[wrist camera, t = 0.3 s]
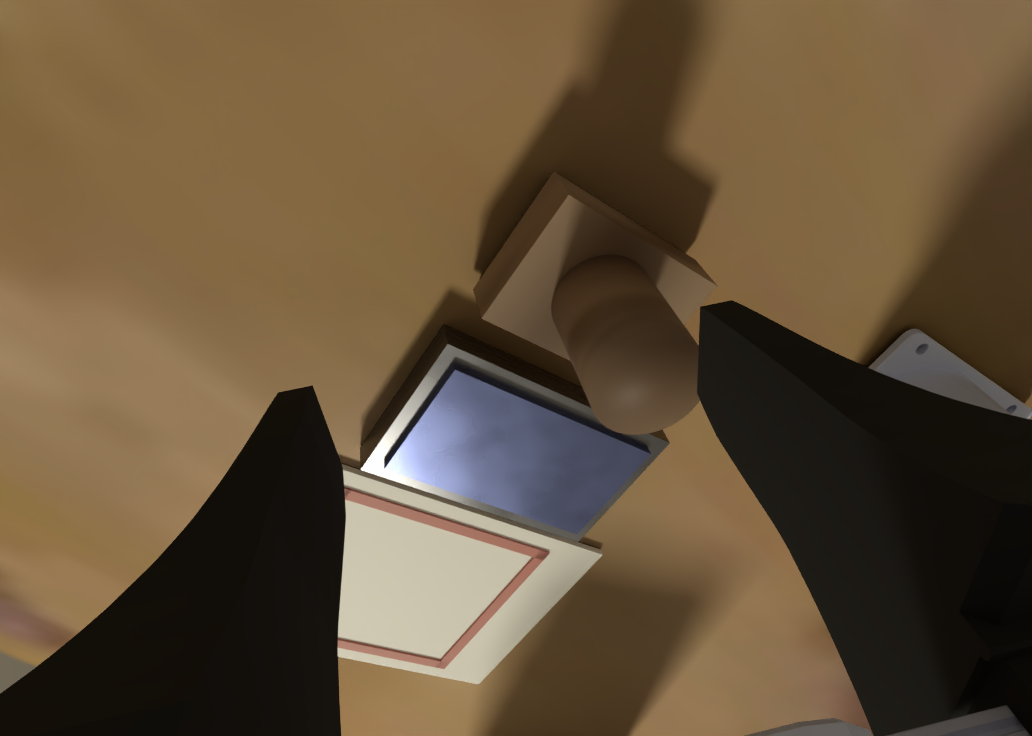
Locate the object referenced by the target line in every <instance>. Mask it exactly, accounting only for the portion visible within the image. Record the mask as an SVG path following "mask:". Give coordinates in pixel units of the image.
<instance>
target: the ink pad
mask: <svg viewBox="0 0 1032 736" xmlns="http://www.w3.org/2000/svg"><path fill="white" fill-rule="evenodd" d="M668 444H669V441H668V439H667V437H666V435H665V433H664V432H663V430H659V431H656V432H652V433H648V434H641V435H629V434H622V433H618V432H615V431H612V430H611V429H609V428H607V427H605V426H604V425H603V424H602V423H601V422H600V421H599V420H598V419H597V418H596V416H595V415H594V412H593V410H592V408H591V406H590V403H589V401H588V399H587V397H586V394H585V392H584V390H583V388H581V387H579V386H577V385H575V384H573V383H570V382H568V381H566V380H564V379H562V378H559V377H557V376H555V375H553V374H551V373H549V372H546V371H544V370H542V369H540V368H538V367H536V366H533V365H531V364H529V363H527V362H525V361H522V360H520V359H518V358H516V357H514V356H512V355H509V354H507V353H505V352H503V351H501V350H499V349H496V348H494V347H492V346H490V345H488V344H486V343H483V342H481V341H479V340H477V339H475V338H472V337H470V336H468V335H466V334H464V333H462V332H459V331H457V330H455V329H453V328H451V327H449V326H446V325H443V326H442V328H441V329H440V331H439V332H438V334H437V335H436V336H435V338H434V339H433V341H432V342H431V344H430V345H429V347H428V348H427V350H426V351H425V353H424V354H423V356H422V357H421V359H420V360H419V362H418V363H417V364H416V366H415V367H414V369H413V370H412V372H411V373H410V375H409V376H408V378H407V379H406V381H405V382H404V384H403V385H402V387H401V388H400V390H399V391H398V392H397V394H396V395H395V397H394V398H393V400H392V401H391V403H390V404H389V406H388V407H387V409H386V410H385V412H384V413H383V415H382V416H381V417H380V419H379V420H378V422H377V423H376V425H375V426H374V428H373V429H372V431H371V432H370V434H369V435H368V437H367V438H366V440H365V441H364V443H363V444H362V445H361V447H360V466H361V470H362V471H365V472H368V473H371V474H374V475H377V476H381V477H384V478H387V479H390V480H393V481H396V482H399V483H402V484H405V485H408V486H411V487H414V488H417V489H420V490H423V491H426V492H429V493H432V494H435V495H438V496H441V497H444V498H447V499H450V500H453V501H456V502H459V503H462V504H465V505H468V506H471V507H474V508H477V509H480V510H483V511H486V512H489V513H492V514H495V515H498V516H501V517H504V518H507V519H510V520H513V521H516V522H519V523H522V524H525V525H528V526H531V527H534V528H538V529H541V530H544V531H547V532H550V533H553V534H556V535H559V536H562V537H565V538H568V539H571V540H574V541H577V542H579V540H580V539H581V538H582V537H583V536H584V535H585V534H586V533H587V532H588V531H589V530H590V529H591V528H592V526H593V525H594V524H595V523H596V522H597V521H598V520H599V519H600V518H601V517H602V516H603V515H604V513H605V512H606V511H607V510H608V509H609V508H610V507H611V506H612V505H613V504H614V503H615V502H616V501H617V499H618V498H619V497H620V496H621V495H622V494H623V493H624V492H625V491H626V490H627V489H628V488H629V487H630V485H631V484H632V483H633V482H634V481H635V480H636V479H637V478H638V477H639V476H640V475H641V474H642V473H643V471H644V470H645V469H646V468H647V467H648V466H649V465H650V464H651V463H652V462H653V461H654V460H655V458H656V457H657V456H658V455H659V454H660V453H661V452H662V451H663V450H664V449H665V448H666V447H667V446H668Z"/></svg>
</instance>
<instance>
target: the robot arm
mask: <svg viewBox="0 0 1032 736" xmlns="http://www.w3.org/2000/svg"><path fill="white" fill-rule="evenodd" d="M918 346H919V347H918ZM697 394H698V396H699V399H700V401H701V403H702V405H703V408H704V410H705V412H706V414H707V417H708V419H709V421H710V423H711V425H712V427H713V429H714V431H715V433H716V435H717V437H718V439H719V440H720V442H721V444H722V445H723V447H724V448H725V450H726V451H727V453H728V455H729V456H730V458H731V459H732V461H733V462H734V464H735V465H736V467H737V469H738V470H739V472H740V473H741V475H742V476H743V478H744V479H745V481H746V482H747V484H748V485H749V487H750V488H751V490H752V491H753V493H754V494H755V496H756V498H757V499H758V501H759V502H760V504H761V505H762V507H763V508H764V510H765V511H766V513H767V514H768V516H769V517H770V519H771V520H772V522H773V524H774V525H775V527H776V528H777V530H778V532H779V533H780V535H781V537H782V538H783V540H784V542H785V544H786V545H787V547H788V549H789V551H790V553H791V555H792V557H793V559H794V561H795V563H796V565H797V567H798V569H799V571H800V573H801V575H802V577H803V579H804V581H805V583H806V585H807V587H808V588H809V590H810V593H811V595H812V597H813V599H814V601H815V603H816V605H817V607H818V609H819V611H820V614H821V616H822V618H823V620H824V622H825V624H826V626H827V628H828V630H829V633H830V635H831V637H832V639H833V641H834V643H835V646H836V648H837V650H838V652H839V655H840V657H841V659H842V661H843V664H844V666H845V668H846V671H847V673H848V675H849V677H850V680H851V682H852V684H853V686H854V689H855V691H856V693H857V695H858V698H859V700H860V703H861V705H862V708H863V710H864V713H865V715H866V717H867V720H868V722H869V725H870V727H871V730H872V732H873V735H874V736H1032V420H1030V419H1029V418H1030V417H1031V415H1032V410H1031V409H1030V408H1029V407H1028V406H1027V405H1025V404H1024V403H1023V402H1021V401H1020V400H1018V399H1017V398H1016V397H1014V396H1013V395H1011V394H1010V393H1008V392H1007V391H1006V390H1004V389H1003V388H1001V387H1000V386H998V385H997V384H996V383H994V382H993V381H991V380H990V379H989V378H987V377H986V376H984V375H983V374H981V373H980V372H979V371H977V370H976V369H974V368H973V367H972V366H970V365H969V364H967V363H966V362H964V361H963V360H962V359H960V358H959V357H957V356H956V355H955V354H953V353H952V352H950V351H949V350H947V349H946V348H945V347H943V346H942V345H940V344H939V343H937V342H936V341H935V340H933V339H932V338H930V337H929V336H928V335H926V334H925V333H923V332H922V331H920V330H919V329H910V330H908V331H906V332H905V333H903V334H902V335H901V336H900V337H899V338H898V339H897V340H896V341H895V342H894V343H893V344H892V345H891V346H890V347H889V348H888V349H887V350H886V351H885V352H884V353H883V354H881V355H880V356H879V357H878V358H877V359H876V360H875V361H874V362H873V363H872V364H871V365H870V366H869V367H866V366H863V365H861V364H859V363H856V362H854V361H852V360H850V359H847V358H845V357H843V356H841V355H839V354H837V353H835V352H833V351H830V350H828V349H826V348H824V347H822V346H820V345H818V344H816V343H814V342H812V341H810V340H808V339H806V338H804V337H802V336H801V335H799V334H797V333H795V332H793V331H791V330H789V329H787V328H785V327H783V326H782V325H780V324H778V323H776V322H774V321H772V320H770V319H768V318H766V317H765V316H763V315H761V314H759V313H757V312H755V311H753V310H751V309H749V308H747V307H745V306H743V305H741V304H739V303H737V302H734V301H732V300H731V301H726V302H722V303H717V304H712V305H707V306H702V307H700V329H699V354H698V378H697ZM345 524H346V508H345V491H344V477H343V467H342V464H341V462H340V459H339V456H338V453H337V451H336V448H335V445H334V443H333V440H332V437H331V434H330V432H329V429H328V426H327V424H326V421H325V418H324V415H323V413H322V410H321V407H320V405H319V402H318V399H317V396H316V394H315V391H314V388H313V386H308V387H303V388H298V389H294V390H289V391H284V392H279V393H278V394H277V395H276V397H275V398H274V400H273V401H272V403H271V404H270V406H269V407H268V409H267V411H266V412H265V414H264V415H263V417H262V419H261V420H260V422H259V424H258V425H257V427H256V428H255V430H254V432H253V433H252V435H251V436H250V438H249V440H248V441H247V443H246V444H245V446H244V447H243V449H242V450H241V452H240V453H239V455H238V456H237V458H236V459H235V461H234V462H233V464H232V465H231V467H230V468H229V470H228V471H227V473H226V474H225V476H224V477H223V479H222V480H221V482H220V483H219V484H218V486H217V487H216V488H215V490H214V491H213V492H212V494H211V495H210V497H209V498H208V499H207V501H206V502H205V503H204V505H203V506H202V507H201V509H200V510H199V511H198V513H197V514H196V515H195V516H194V518H193V519H192V520H191V521H190V523H189V524H188V525H187V526H186V527H185V528H184V530H183V531H182V532H181V533H180V534H179V536H178V537H177V538H176V539H175V540H174V541H173V542H172V543H171V544H170V546H169V547H168V548H167V549H166V550H165V551H164V552H163V553H162V554H161V556H160V557H159V558H158V559H157V560H156V561H155V562H154V563H153V564H152V565H151V566H150V567H149V568H148V569H147V570H146V571H145V572H144V573H143V574H142V575H141V576H140V577H139V578H138V579H137V580H136V581H135V582H134V583H133V584H132V585H131V586H130V587H128V588H127V589H126V590H125V591H124V592H123V593H122V594H121V595H120V596H119V597H118V598H117V599H116V600H115V601H114V602H113V603H112V604H111V605H110V606H109V607H108V608H107V609H106V610H104V611H103V612H102V613H101V614H100V615H99V616H98V617H97V618H95V619H94V620H93V621H92V622H91V623H90V624H89V625H87V626H86V627H85V628H84V629H83V630H82V631H80V632H79V633H78V634H77V635H76V636H74V637H73V638H72V639H71V640H70V641H68V642H67V643H66V644H65V645H64V646H62V647H61V648H60V649H59V650H57V651H56V652H55V653H54V654H53V655H51V656H50V657H49V658H47V659H46V660H45V661H44V662H42V663H41V664H40V665H39V666H37V667H36V668H35V669H33V670H32V671H31V672H29V673H28V674H27V675H25V676H24V677H22V678H21V679H20V680H18V681H17V682H16V683H14V684H13V685H12V686H10V687H9V688H8V689H6V690H5V691H3V692H2V693H1V694H0V736H341V725H340V705H339V677H338V622H339V609H340V595H341V582H342V568H343V555H344V540H345ZM745 736H872V735H871V733H870V731H869V730H868V729H865V728H862V727H859V726H856V725H853V724H850V723H847V722H844V721H841V720H838V719H835V718H831V719H822V720H813V721H804V722H797V723H793V724H789V725H785V726H781V727H777V728H773V729H769V730H765V731H761V732H757V733H753V734H749V735H745Z"/></svg>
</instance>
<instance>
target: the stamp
mask: <svg viewBox="0 0 1032 736" xmlns="http://www.w3.org/2000/svg"><path fill="white" fill-rule="evenodd" d="M716 287H717V285H716V284H715V282H714V281H713V280H712V279H711V278H710V277H709V275H708V274H707V273H706V272H705V271H704V270H703V268H702V267H701V266H700V265H699V264H698V262H697V261H696V260H695V259H693V258H692V257H690V256H688V255H687V254H685V253H684V252H682V251H680V250H679V249H677V248H676V247H674V246H672V245H671V244H669V243H668V242H666V241H664V240H663V239H661V238H660V237H658V236H656V235H655V234H653V233H652V232H650V231H648V230H647V229H645V228H644V227H642V226H640V225H639V224H637V223H636V222H634V221H632V220H631V219H629V218H628V217H626V216H624V215H623V214H621V213H620V212H618V211H616V210H615V209H613V208H612V207H610V206H608V205H607V204H605V203H603V202H602V201H600V200H599V199H597V198H595V197H594V196H592V195H591V194H589V193H587V192H586V191H584V190H583V189H581V188H579V187H578V186H576V185H575V184H573V183H571V182H570V181H568V180H567V179H565V178H563V177H562V176H560V175H559V174H557V173H555V172H553V173H552V175H551V176H550V178H549V179H548V181H547V182H546V183H545V185H544V186H543V188H542V189H541V191H540V192H539V194H538V195H537V197H536V198H535V200H534V201H533V202H532V204H531V205H530V207H529V208H528V210H527V211H526V213H525V214H524V216H523V217H522V219H521V220H520V221H519V223H518V224H517V226H516V227H515V229H514V230H513V232H512V233H511V235H510V236H509V238H508V239H507V240H506V242H505V243H504V245H503V246H502V248H501V249H500V251H499V252H498V254H497V255H496V257H495V258H494V260H493V261H492V262H491V264H490V265H489V267H488V268H487V270H486V271H485V273H484V274H483V276H482V277H481V279H480V280H479V281H478V283H477V284H476V286H475V287H474V289H473V291H474V294H475V298H476V301H477V305H478V308H479V312H480V315H481V319H483V320H485V321H488V322H490V323H492V324H494V325H496V326H498V327H500V328H502V329H504V330H506V331H508V332H511V333H513V334H515V335H517V336H519V337H521V338H523V339H525V340H527V341H529V342H532V343H534V344H536V345H538V346H540V347H542V348H544V349H546V350H548V351H550V352H553V353H555V354H557V355H559V356H561V357H563V358H565V359H567V360H569V361H571V362H572V365H573V367H574V369H575V371H576V374H577V376H578V378H579V381H580V383H581V385H582V387H583V390H584V392H585V394H586V397H587V399H588V401H589V403H590V406H591V408H592V410H593V412H594V415H595V416H596V418H597V419H598V420H599V421H600V422H601V423H602V424H603V425H604V426H605V427H607V428H609V429H611V430H612V431H615V432H618V433H622V434H629V435H641V434H648V433H652V432H656V431H659V430H662V429H664V428H667V427H669V426H671V425H673V424H675V423H676V422H678V421H679V420H681V419H682V418H683V417H685V416H686V415H687V414H688V413H689V412H690V411H691V410H692V409H693V408H694V407H695V406H696V405H697V404H698V402H699V401H700V399H699V396H698V394H697V378H698V354H699V346H698V344H697V343H696V342H695V340H694V339H693V337H692V336H691V335H690V333H689V332H688V330H687V329H686V328H685V326H684V324H685V323H686V322H687V321H688V319H689V318H690V317H691V316H692V315H693V314H694V312H695V311H696V310H697V309H698V308H699V307H700V305H701V304H702V303H703V302H704V301H705V300H706V298H707V297H708V296H709V295H710V294H711V293H712V291H713V290H714V289H715V288H716Z"/></svg>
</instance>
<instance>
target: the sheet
mask: <svg viewBox="0 0 1032 736" xmlns="http://www.w3.org/2000/svg"><path fill="white" fill-rule="evenodd" d="M342 467H343V477H344V491H345V508H346V524H345V540H344V555H343V568H342V582H341V595H340V609H339V622H338V657H342V658H347V659H352V660H358V661H363V662H368V663H373V664H378V665H383V666H388V667H393V668H398V669H403V670H408V671H413V672H418V673H423V674H428V675H434V676H439V677H444V678H449V679H454V680H459V681H464V682H469V683H474V684H479V683H480V682H481V681H482V680H483V679H484V678H485V677H486V676H487V675H488V674H489V673H490V672H491V671H492V670H493V669H494V668H495V667H496V666H497V665H498V664H499V663H500V661H501V660H502V659H503V658H504V657H505V656H506V655H507V654H508V653H509V652H510V651H511V650H512V649H513V648H514V647H515V646H516V645H517V644H518V643H519V642H520V641H521V640H522V639H523V638H524V636H525V635H526V634H527V633H528V632H529V631H530V630H531V629H532V628H533V627H534V626H535V625H536V624H537V623H538V622H539V621H540V620H541V619H542V618H543V617H544V616H545V615H546V614H547V613H548V611H549V610H550V609H551V608H552V607H553V606H554V605H555V604H556V603H557V602H558V601H559V600H560V599H561V598H562V597H563V596H564V595H565V594H566V593H567V592H568V591H569V590H570V589H571V587H572V586H573V585H574V584H575V583H576V582H577V581H578V580H579V579H580V578H581V577H582V576H583V575H584V574H585V573H586V572H587V571H588V570H589V569H590V568H591V567H592V566H593V565H594V564H595V562H596V561H597V560H598V559H599V558H600V557H601V556H602V555H603V554H602V551H601V550H600V549H597V548H594V547H591V546H588V545H585V544H582V543H579V542H576V541H573V540H570V539H567V538H564V537H561V536H558V535H555V534H552V533H549V532H546V531H543V530H540V529H537V528H534V527H531V526H528V525H525V524H522V523H519V522H516V521H513V520H510V519H507V518H504V517H501V516H498V515H495V514H492V513H489V512H486V511H483V510H480V509H476V508H473V507H470V506H467V505H464V504H461V503H458V502H455V501H452V500H449V499H446V498H443V497H440V496H437V495H434V494H431V493H428V492H425V491H422V490H419V489H416V488H413V487H410V486H407V485H404V484H401V483H398V482H395V481H392V480H389V479H386V478H383V477H380V476H377V475H374V474H371V473H368V472H365V471H362V470H359V469H356V468H353V467H350V466H347V465H344V464H342Z"/></svg>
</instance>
